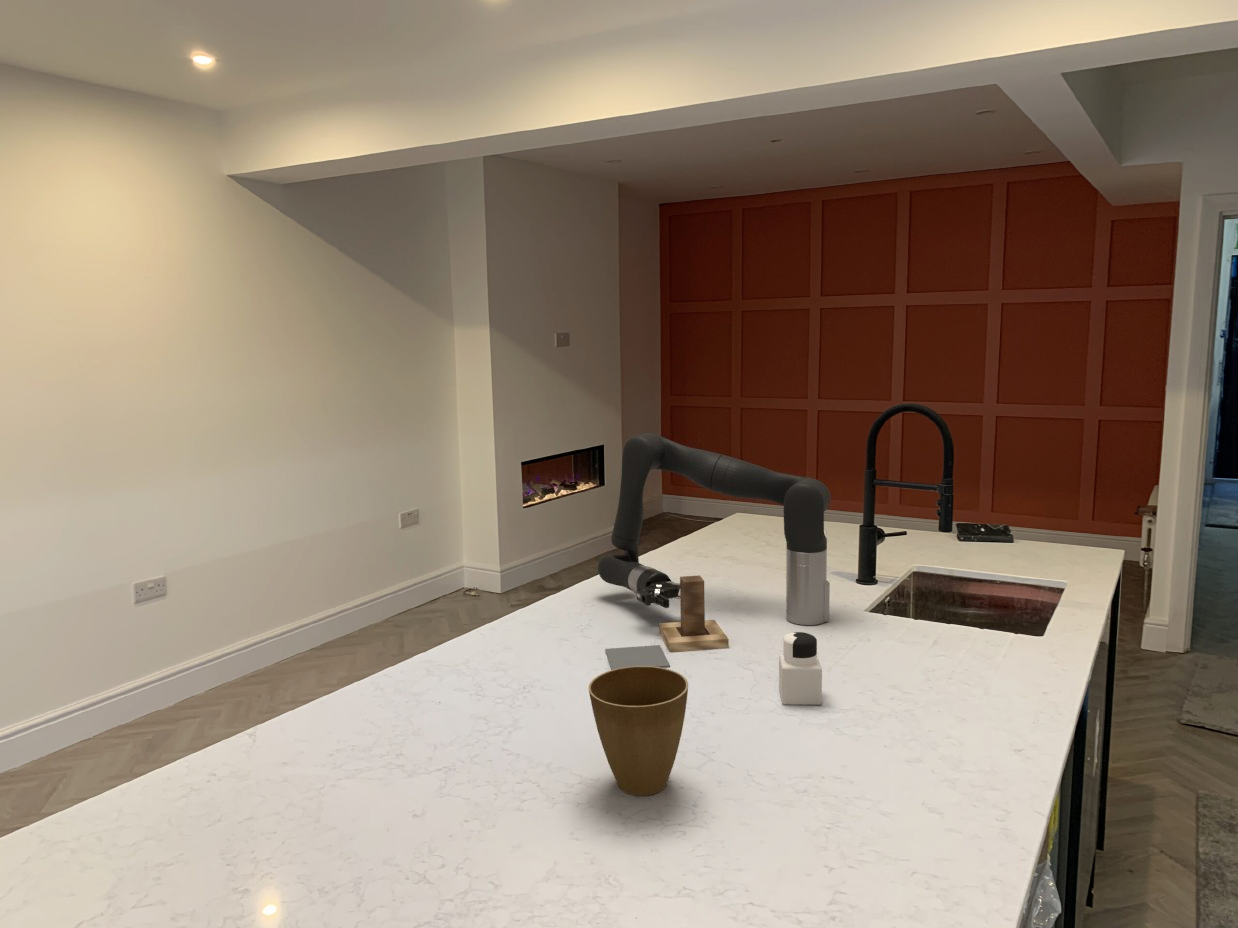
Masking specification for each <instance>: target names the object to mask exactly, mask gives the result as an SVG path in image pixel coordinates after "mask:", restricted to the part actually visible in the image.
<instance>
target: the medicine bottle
mask: <svg viewBox="0 0 1238 928" xmlns="http://www.w3.org/2000/svg"><path fill="white" fill-rule="evenodd" d="M782 646H783V647H782V648H783V653H780V654H779V655H778V689H779V691H778V692H779V695H780V699H781V703H782V705H789V706H790V705H792V706H793V705H794V706H795V705H796V706H797V705H798V706H799V705H801V706H821V705H822V703H823V702H822V701H823V700H822V699H823V698H822V697H823V695H822V694H823V693H822V691H823V689H822V688H823V685H822V684H823V668H822V665H821V662H820V660H819V658H818V657H819V656H818V654H817V653H818V652H817V651H818V648H817V647H818V639H817V638H816V637H815V636H814V635H813V634H811V633H808V632H803V631H795V632H790V633H788V634H786V635H784V636H783V645H782Z"/></svg>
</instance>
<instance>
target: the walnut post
mask: <svg viewBox="0 0 1238 928" xmlns="http://www.w3.org/2000/svg"><path fill="white" fill-rule="evenodd" d="M679 583H680V590H679V593H680V594H679V595H680V599H679V601H680V622H681V637H686V636H701V635H705V620H706V618H705V617H706V615H705V614H706V612H705V609H706V608H705V604H706V603H705V599H706V598H705V580H704V579H703V577H702V576H701V575H687V576H686V575H685V576H679Z"/></svg>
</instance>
